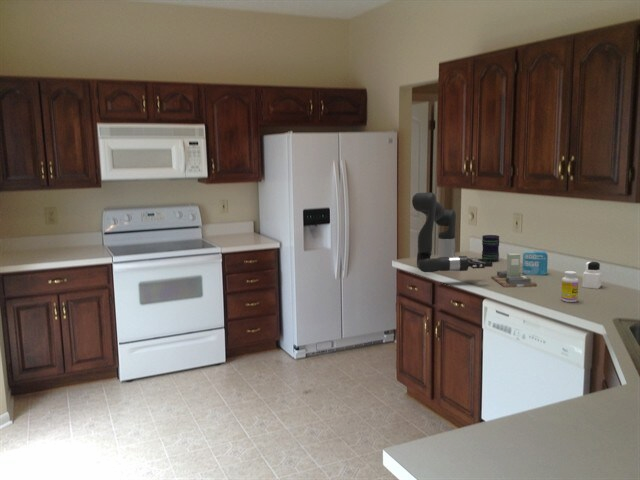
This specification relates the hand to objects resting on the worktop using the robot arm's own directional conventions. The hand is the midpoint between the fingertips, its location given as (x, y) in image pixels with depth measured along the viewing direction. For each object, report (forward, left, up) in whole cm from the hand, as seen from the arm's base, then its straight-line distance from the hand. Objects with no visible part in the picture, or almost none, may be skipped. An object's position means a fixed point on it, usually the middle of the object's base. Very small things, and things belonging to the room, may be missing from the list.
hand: (489, 262), depth 284 cm
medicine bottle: (+14, +45, -11) cm, 48 cm away
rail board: (0, +12, -10) cm, 16 cm away
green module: (0, +12, -9) cm, 15 cm away
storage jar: (-54, +17, -11) cm, 57 cm away
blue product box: (-16, +29, -11) cm, 35 cm away
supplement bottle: (+37, +24, -11) cm, 45 cm away
